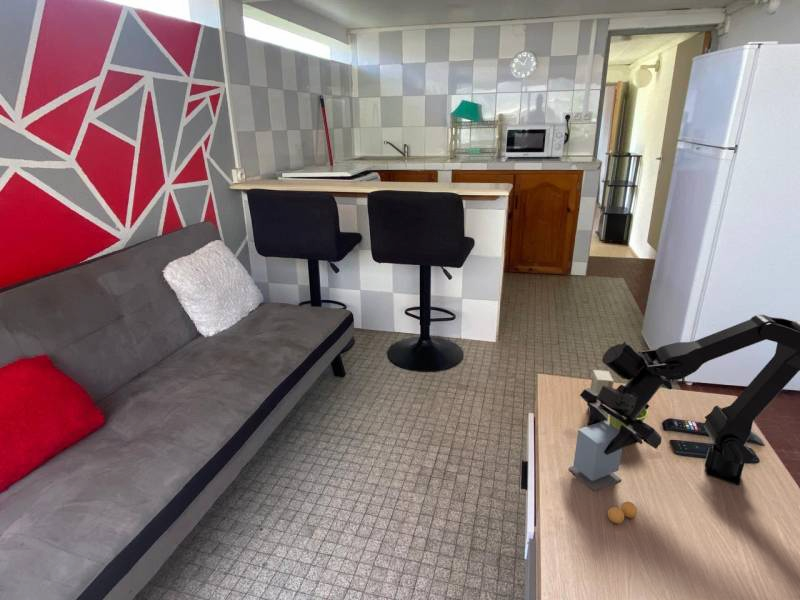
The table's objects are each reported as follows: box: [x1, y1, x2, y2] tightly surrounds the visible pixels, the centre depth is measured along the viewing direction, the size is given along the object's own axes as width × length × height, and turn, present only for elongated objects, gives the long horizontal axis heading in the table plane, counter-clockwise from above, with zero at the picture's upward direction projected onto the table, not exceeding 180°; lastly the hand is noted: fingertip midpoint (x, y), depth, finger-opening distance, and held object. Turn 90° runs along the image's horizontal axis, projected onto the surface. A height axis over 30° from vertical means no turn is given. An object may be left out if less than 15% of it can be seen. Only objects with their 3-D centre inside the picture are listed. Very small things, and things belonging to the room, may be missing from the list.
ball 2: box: [620, 501, 638, 519], centre depth 96 cm, size 3×3×3 cm
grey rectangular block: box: [572, 420, 623, 481], centre depth 105 cm, size 8×6×10 cm
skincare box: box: [587, 369, 614, 421], centre depth 128 cm, size 6×4×12 cm
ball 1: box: [607, 506, 625, 524], centre depth 94 cm, size 3×3×3 cm
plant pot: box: [609, 408, 649, 430], centre depth 119 cm, size 9×9×9 cm
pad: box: [568, 465, 622, 492], centre depth 107 cm, size 8×8×1 cm
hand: (594, 445), depth 104 cm, fingers closed on grey rectangular block, 6 cm apart
